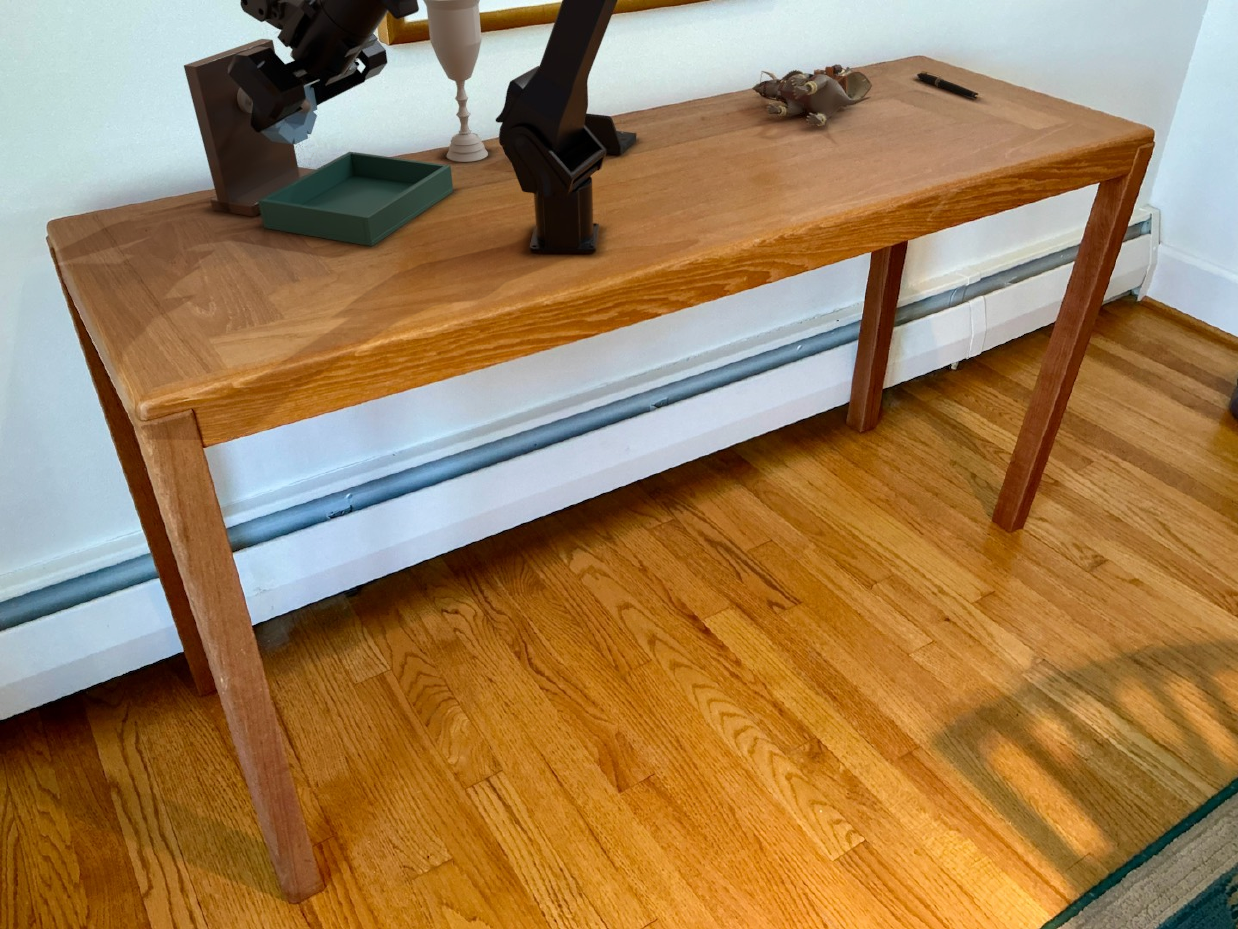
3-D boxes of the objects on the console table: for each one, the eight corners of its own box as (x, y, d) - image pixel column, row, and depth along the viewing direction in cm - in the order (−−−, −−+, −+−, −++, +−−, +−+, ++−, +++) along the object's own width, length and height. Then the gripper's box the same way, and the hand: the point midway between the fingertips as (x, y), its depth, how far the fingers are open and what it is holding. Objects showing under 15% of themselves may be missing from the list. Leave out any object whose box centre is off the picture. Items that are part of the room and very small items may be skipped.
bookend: (639, 121, 125) (619, 68, 116) (635, 170, 123) (615, 121, 114) (552, 129, 128) (527, 78, 119) (547, 177, 126) (521, 130, 117)
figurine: (723, 69, 132) (792, 47, 142) (723, 116, 135) (790, 90, 146) (857, 85, 120) (921, 59, 131) (853, 136, 124) (916, 107, 134)
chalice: (441, 145, 123) (423, -12, 113) (496, 144, 124) (483, -14, 113) (437, 165, 118) (417, 1, 107) (494, 163, 118) (480, -1, 107)
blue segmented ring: (321, 131, 107) (309, 64, 103) (281, 151, 102) (266, 81, 98) (302, 129, 108) (289, 61, 104) (261, 148, 103) (245, 78, 99)
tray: (453, 191, 111) (450, 164, 109) (372, 246, 98) (367, 217, 97) (353, 176, 115) (349, 151, 113) (263, 227, 102) (257, 200, 101)
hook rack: (359, 185, 112) (336, 45, 104) (293, 223, 103) (262, 73, 95) (282, 174, 116) (253, 37, 107) (212, 210, 107) (175, 64, 98)
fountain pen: (987, 102, 137) (989, 91, 136) (980, 104, 137) (982, 92, 136) (919, 78, 148) (920, 67, 147) (912, 79, 147) (914, 68, 146)
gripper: (344, -71, 100) (277, 37, 110) (218, -42, 86) (155, 79, 96) (421, 18, 102) (349, 116, 112) (311, 61, 88) (240, 169, 98)
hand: (277, 118), depth 104 cm, fingers closed on blue segmented ring, 7 cm apart
